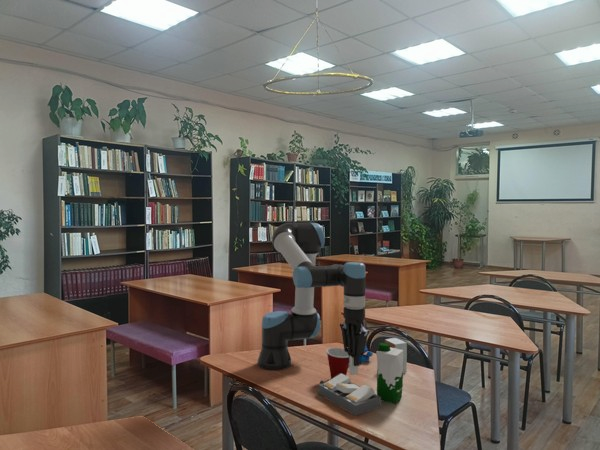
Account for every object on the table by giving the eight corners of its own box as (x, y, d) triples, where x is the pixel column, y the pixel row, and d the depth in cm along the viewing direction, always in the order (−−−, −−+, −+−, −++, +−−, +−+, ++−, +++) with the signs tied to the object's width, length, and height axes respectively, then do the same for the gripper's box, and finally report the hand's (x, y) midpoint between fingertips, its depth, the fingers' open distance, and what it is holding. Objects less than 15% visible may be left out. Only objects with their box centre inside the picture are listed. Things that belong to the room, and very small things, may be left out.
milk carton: (382, 391, 162) (382, 340, 162) (405, 397, 157) (405, 344, 157) (373, 399, 155) (374, 346, 154) (397, 405, 150) (398, 350, 149)
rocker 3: (346, 401, 148) (345, 396, 148) (365, 388, 153) (364, 384, 153) (356, 406, 144) (355, 401, 144) (374, 393, 149) (373, 388, 149)
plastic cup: (350, 386, 167) (351, 356, 166) (323, 384, 169) (324, 354, 168) (353, 376, 177) (353, 348, 177) (327, 374, 179) (327, 346, 179)
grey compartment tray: (309, 388, 164) (309, 379, 164) (333, 381, 171) (333, 372, 171) (355, 415, 142) (355, 405, 142) (380, 406, 149) (381, 396, 149)
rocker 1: (324, 388, 159) (323, 383, 159) (342, 377, 164) (341, 372, 164) (332, 392, 155) (331, 388, 155) (350, 381, 160) (349, 377, 160)
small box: (383, 368, 187) (384, 339, 187) (395, 366, 190) (396, 337, 189) (394, 374, 180) (395, 344, 179) (406, 372, 182) (407, 342, 182)
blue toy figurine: (377, 346, 196) (360, 345, 189) (374, 365, 195) (357, 364, 188) (365, 342, 202) (348, 341, 194) (362, 360, 201) (345, 360, 193)
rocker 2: (335, 388, 154) (336, 382, 154) (353, 389, 159) (354, 383, 159) (344, 392, 150) (345, 387, 150) (362, 393, 155) (363, 388, 155)
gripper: (334, 304, 149) (333, 370, 150) (358, 311, 139) (358, 382, 139) (350, 302, 154) (349, 366, 154) (375, 309, 143) (374, 377, 143)
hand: (353, 374), depth 147 cm, fingers closed
